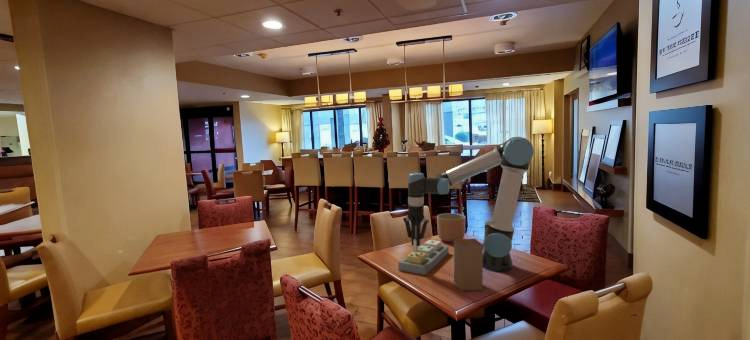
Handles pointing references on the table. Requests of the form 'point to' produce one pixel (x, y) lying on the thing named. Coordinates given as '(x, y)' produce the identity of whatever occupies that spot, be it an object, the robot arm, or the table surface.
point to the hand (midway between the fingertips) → (415, 251)
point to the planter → (450, 227)
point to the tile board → (425, 266)
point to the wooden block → (468, 264)
